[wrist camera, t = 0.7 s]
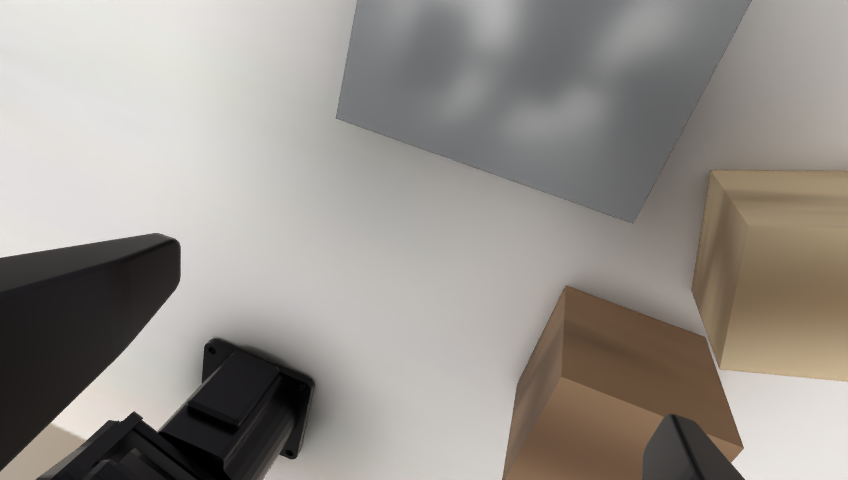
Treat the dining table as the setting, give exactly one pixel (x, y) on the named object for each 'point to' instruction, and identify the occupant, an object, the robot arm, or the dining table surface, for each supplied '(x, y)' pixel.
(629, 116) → the plate
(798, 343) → the oak cube
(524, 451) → the walnut cube
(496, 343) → the dining table surface
